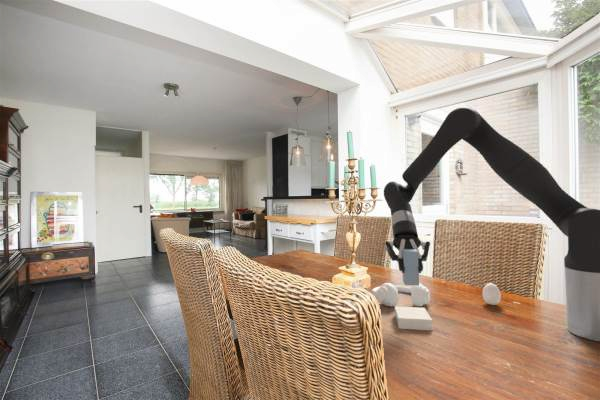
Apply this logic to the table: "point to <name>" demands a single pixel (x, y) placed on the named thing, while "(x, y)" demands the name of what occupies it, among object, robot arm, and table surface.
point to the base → (413, 318)
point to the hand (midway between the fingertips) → (411, 271)
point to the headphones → (390, 292)
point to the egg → (491, 294)
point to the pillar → (410, 267)
